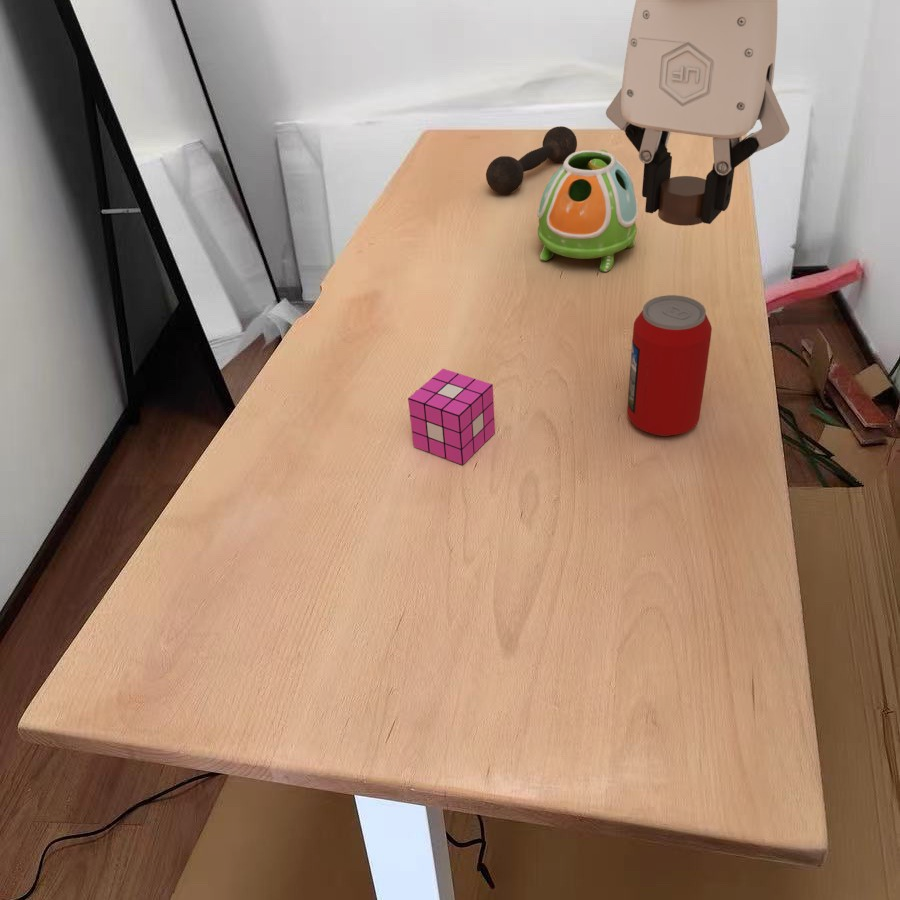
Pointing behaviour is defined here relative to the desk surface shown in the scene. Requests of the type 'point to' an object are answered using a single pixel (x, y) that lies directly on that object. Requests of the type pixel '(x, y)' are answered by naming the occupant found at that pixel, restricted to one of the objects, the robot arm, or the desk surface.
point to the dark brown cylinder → (681, 200)
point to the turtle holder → (588, 209)
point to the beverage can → (668, 365)
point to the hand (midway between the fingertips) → (684, 209)
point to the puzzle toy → (452, 415)
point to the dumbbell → (530, 160)
